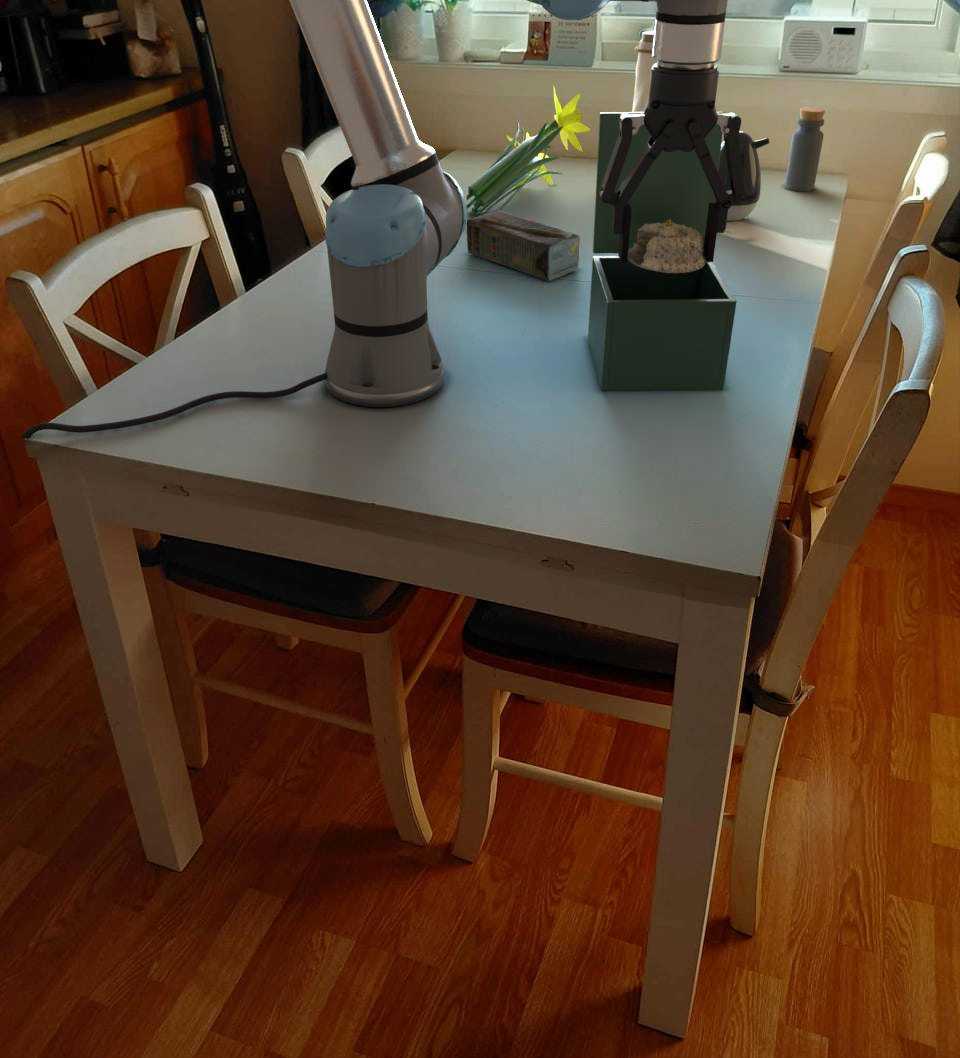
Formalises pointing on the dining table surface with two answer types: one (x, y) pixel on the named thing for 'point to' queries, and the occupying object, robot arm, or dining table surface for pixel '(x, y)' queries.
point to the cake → (668, 248)
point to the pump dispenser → (744, 175)
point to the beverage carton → (523, 244)
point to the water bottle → (643, 71)
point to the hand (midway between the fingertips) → (665, 258)
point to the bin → (659, 327)
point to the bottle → (805, 150)
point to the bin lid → (653, 185)
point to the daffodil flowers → (525, 159)
